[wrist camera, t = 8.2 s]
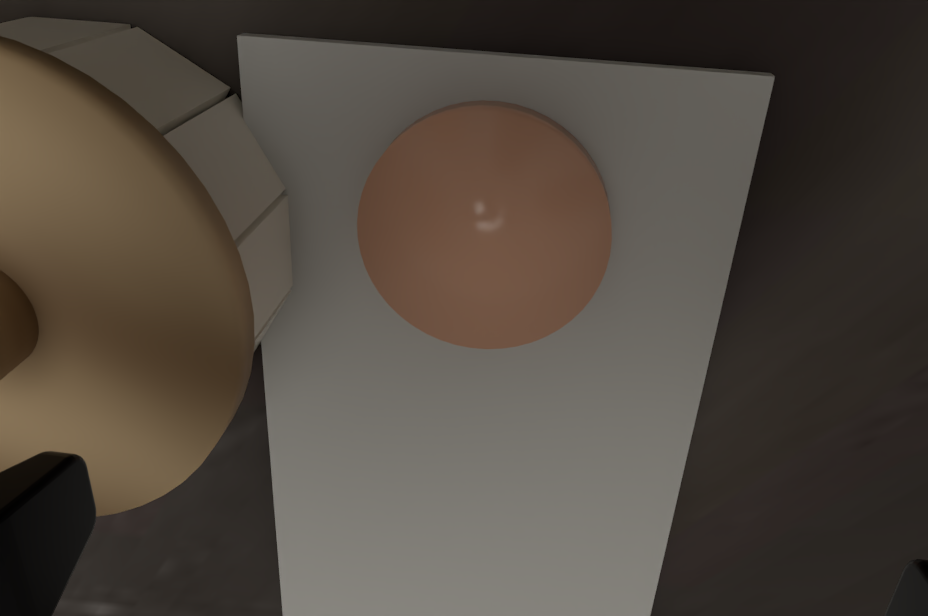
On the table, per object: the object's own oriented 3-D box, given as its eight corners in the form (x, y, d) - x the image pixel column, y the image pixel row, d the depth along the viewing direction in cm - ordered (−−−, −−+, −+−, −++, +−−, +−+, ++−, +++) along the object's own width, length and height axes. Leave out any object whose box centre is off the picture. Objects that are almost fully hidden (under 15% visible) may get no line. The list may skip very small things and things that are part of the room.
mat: (770, 72, 17) (775, 76, 17) (633, 676, 27) (633, 687, 26) (243, 33, 18) (236, 35, 18) (288, 627, 28) (284, 636, 27)
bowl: (284, 35, 18) (204, 74, 14) (303, 394, 23) (247, 498, 19) (-116, 5, 19) (-296, 34, 15) (-19, 357, 24) (-138, 449, 20)
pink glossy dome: (631, 117, 18) (634, 128, 17) (588, 344, 21) (588, 364, 20) (370, 85, 18) (359, 95, 17) (363, 313, 21) (354, 331, 20)
